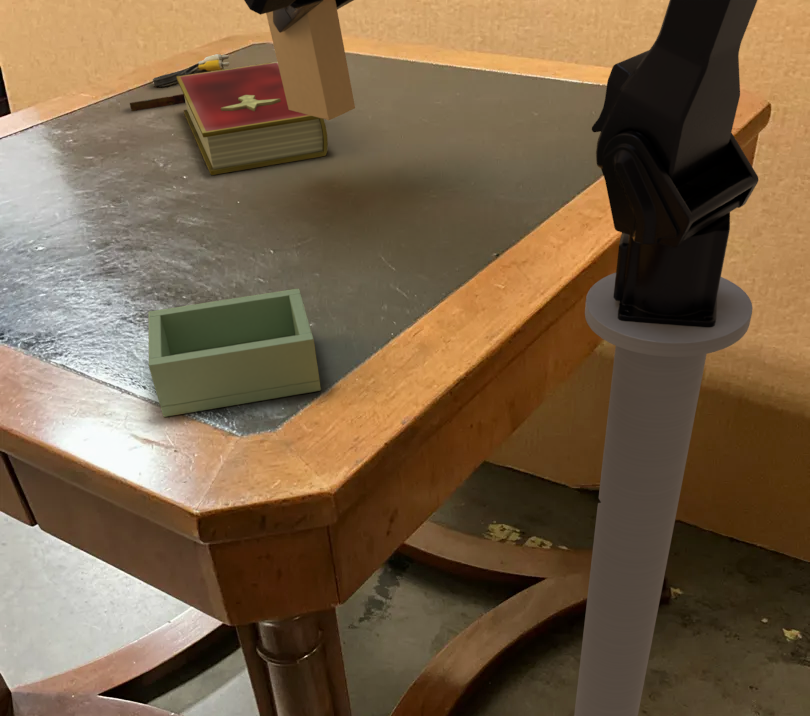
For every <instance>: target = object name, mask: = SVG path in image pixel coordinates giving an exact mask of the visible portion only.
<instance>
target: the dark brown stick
mask: <svg viewBox="0 0 810 716" xmlns="http://www.w3.org/2000/svg"><path fill="white" fill-rule="evenodd" d="M180 104H186V102H185V97H184V94H183V93H180V94H174V95H170V96H163V97H156V98H149V99H144V100H138V101H133V102H129V106H130V110H131V112H136V111H137V112H138V111H143V110H149V109H155V108H162V107H168V106H173V105H180Z"/></svg>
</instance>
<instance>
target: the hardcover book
mask: <svg viewBox="0 0 810 716" xmlns="http://www.w3.org/2000/svg"><path fill="white" fill-rule="evenodd" d="M176 77H177V83H178V85H179V87H180V90H181V92H182V94H184V97H185V102H186V103H185V107H186V109H183V114H184V117H185V119H186V122H187V123H188V126H189V128H190V131H191V132H192V133H191V134H192V135H193V137H194V139H195V142H196V145H197V147H198V149H199V151H200V153H201V155H202V158H203V160H204V162H205V165H206V167H207V169H208V172H209V173H210V176H214V175H221V174H226V173H231V172H239V171H244V170H250V169H256V168H261V167H268V166H274V165H278V164H279V165H280V164H285V163H291V162H296V161H303V160H309V159H314V158H320V157H325V156H326V155H327V153H328V144H329V143H328V131H327V125H326V122H325V119H322V118H318V117H314V116H311V115H307V114H303V113H299V112H295V111H292V110H289V109H288V104H287V100H286V96H285V92H284V87H283V83H282V79H281V74H280V70H279V66H278V62H277V61H272V62H265V63H259V64H252V65H244V66H238V67H231V68H224V70H217V71H210V72H204V73H197V74H190V75H183V76H176Z"/></svg>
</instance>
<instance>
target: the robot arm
mask: <svg viewBox="0 0 810 716" xmlns="http://www.w3.org/2000/svg"><path fill="white" fill-rule="evenodd" d="M243 1H244V2H245V4H246V6H247V8H248V9H249V10H250V11H252V12H255V13H256V14H258V15H261V16H262V15H264V14H266V13H268V12H272V11H273V23H274V25H275V27H276V28H277V30H278V31H279V32H280V33H281V32H284V31H285V30H287V29H288V28H290V27H291V26H292V25H294V24H295V23H296V22H297V21H299V20H300V19H301V18H302V17H303V16H305V15H306V14H307V13H308V12H310V11H311V10H312V9H314V8H315V7H316V6H317V5H319V4H320V3H321V2H322V1H323V0H243ZM335 1H336V7H337V11H338V10H340V9H341V8H343V7H344V6H347V5H348V4H350V3H352V2H353V1H355V0H335ZM757 3H758V0H669V1H668V3H667V8H666V11H665V13H664V17H663V20H662V23H661V27H660V30H659V32H658V34H657V37H656V38H655V41H654V43H653V44H652V45H651V47H650V49H649V50H646V51H644V52H642V53H639V54H636V55H634V56H632V57H629V58H627V59H624V60H622V61H619V62H617V63H615V64H613V66H612V68H611V71H610V73H609V76H608V79H607V82H606V91H605V97H604V103H603V106H602V109H601V112H600V113H599V116H598V118H597V120H596V121H595V122H594V124H593V125H592V126H591V131H592V132H593V133H599V132H600V133H599V135H598V138H597V141H596V142H597V143H596V150H595V159H596V160H595V161H596V166H597V167H598V168H599V169H600V170H601V172H602V175H603V178H604V182H605V187H606V192H607V197H608V201H609V207H610V212H611V217H612V221H613V227H614V230H615V231H616V232H619V233H621V234H620V238H619V244H618V251H617V260H616V269H615V270H616V271H615V273H616V278H615V288H614V297H613V298H614V299H615V300H616V301H620V304H619V309H618V315H617V318H618V319H619V320H621V321H628V322H641V323H655V324H668V325H681V326H695V327H713V326H715V323H716V312H717V294H718V289H719V284H720V278H721V277H722V272H723V267H724V263H725V257H726V251H727V246H728V241H729V236H730V231H731V212H733V211H734V210H736V209H739V208H741V207H743V206H745V205H746V204H747V202H748V200H749V198H750V197H751V195H752V193H753V192H754V190H755V188H756V186H757V185H758V183H759V176H758V174H757V172H756V171H755V169H754V167H753V166H752V164H751V162H750V160H749V159H748V158H747V155H746V154H745V152H744V151H743V149H742V147H741V146H740V144H739V142H738V141H737V139H736V137H735V136H734V134H733V133H732V132H733V127H734V123H735V118H736V114H737V110H738V106H739V102H740V98H741V85H740V84H741V83H740V82H741V80H740V79H741V78H740V61H739V60H740V59H739V58H740V57H739V54H740V49H741V46H742V45H741V44H742V42H743V39H744V36H745V34H746V32H747V29H748V26H749V23H750V21H751V19H752V16H753V13H754V11H755V8H756V5H757Z"/></svg>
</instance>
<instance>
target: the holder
mask: <svg viewBox="0 0 810 716" xmlns="http://www.w3.org/2000/svg"><path fill="white" fill-rule="evenodd" d="M147 313H148V315H147V317H148V326H147V327H148V328H147V329H148V368H149V372H150V376H151V379H152V383H153V386H154V389H155V393H156V397H157V400H158V403H159V406H160V410H161V413H162V416H163V417H164V418H166V417H173V416H178V415H184V414H190V413H196V412H202V411H208V410H213V409H219V408H224V407H231V406H237V405H243V404H248V403H249V404H250V403H255V402H261V401H267V400H274V399H279V398H285V397H290V396H298V395H302V394H303V395H304V394H308V393H309V394H310V393H314V392H320V391H321V390H322V388H321V381H320V375H319V367H318V366H319V365H318V361H317V353H316V346H315V345H316V344H315V339H314V336H313V332H312V328H311V325H310V322H309V321H310V320H309V318H308V315H307V311H306V307H305V305H304V300H303V296H302V294H301V290H300V288H299V287H298V288H292V289H285V290H279V291H272V292H266V293H259V294H253V295H246V296H240V297H239V296H238V297H234V298H226V299H219V300H214V301H207V302H203V303H202V302H201V303H193V304H188V305H181V306H175V307H169V308H162V309H156V310H150V311H148V312H147Z"/></svg>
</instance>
